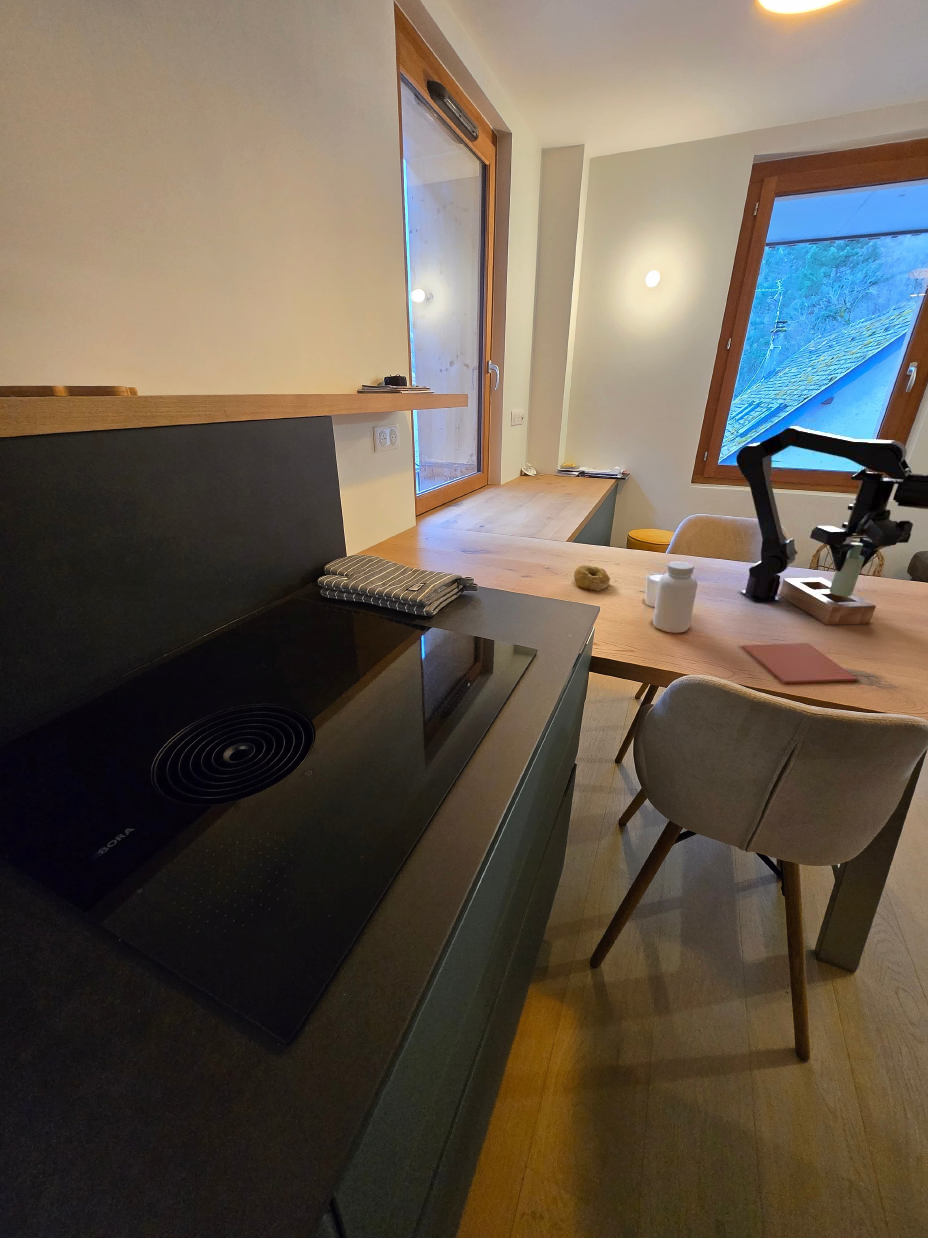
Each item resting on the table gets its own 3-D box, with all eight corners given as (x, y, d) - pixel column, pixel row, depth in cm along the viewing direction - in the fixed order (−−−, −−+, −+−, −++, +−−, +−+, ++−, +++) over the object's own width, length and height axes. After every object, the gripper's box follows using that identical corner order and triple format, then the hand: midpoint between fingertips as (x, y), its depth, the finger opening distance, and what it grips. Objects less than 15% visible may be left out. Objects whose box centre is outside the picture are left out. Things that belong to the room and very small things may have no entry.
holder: (826, 624, 114) (832, 607, 112) (778, 594, 130) (783, 578, 128) (869, 623, 114) (876, 605, 112) (816, 593, 130) (821, 577, 128)
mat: (783, 683, 92) (784, 681, 92) (742, 647, 105) (743, 645, 104) (856, 680, 93) (857, 678, 92) (806, 645, 105) (807, 643, 105)
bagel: (583, 593, 133) (584, 576, 130) (567, 579, 142) (568, 563, 140) (617, 590, 134) (619, 573, 132) (599, 576, 144) (600, 560, 142)
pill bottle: (646, 619, 118) (655, 559, 111) (678, 617, 118) (690, 558, 112) (661, 634, 110) (672, 571, 104) (695, 632, 111) (708, 570, 104)
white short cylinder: (670, 599, 128) (675, 574, 125) (671, 610, 122) (676, 583, 119) (642, 596, 130) (646, 571, 127) (642, 606, 124) (646, 580, 121)
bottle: (838, 596, 114) (854, 546, 108) (824, 589, 118) (840, 541, 112) (856, 596, 114) (874, 546, 108) (842, 589, 118) (859, 540, 112)
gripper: (857, 512, 99) (833, 584, 106) (946, 510, 99) (917, 582, 106) (818, 500, 109) (799, 567, 116) (900, 498, 110) (876, 565, 116)
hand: (847, 570), depth 113 cm, fingers closed on bottle, 4 cm apart
